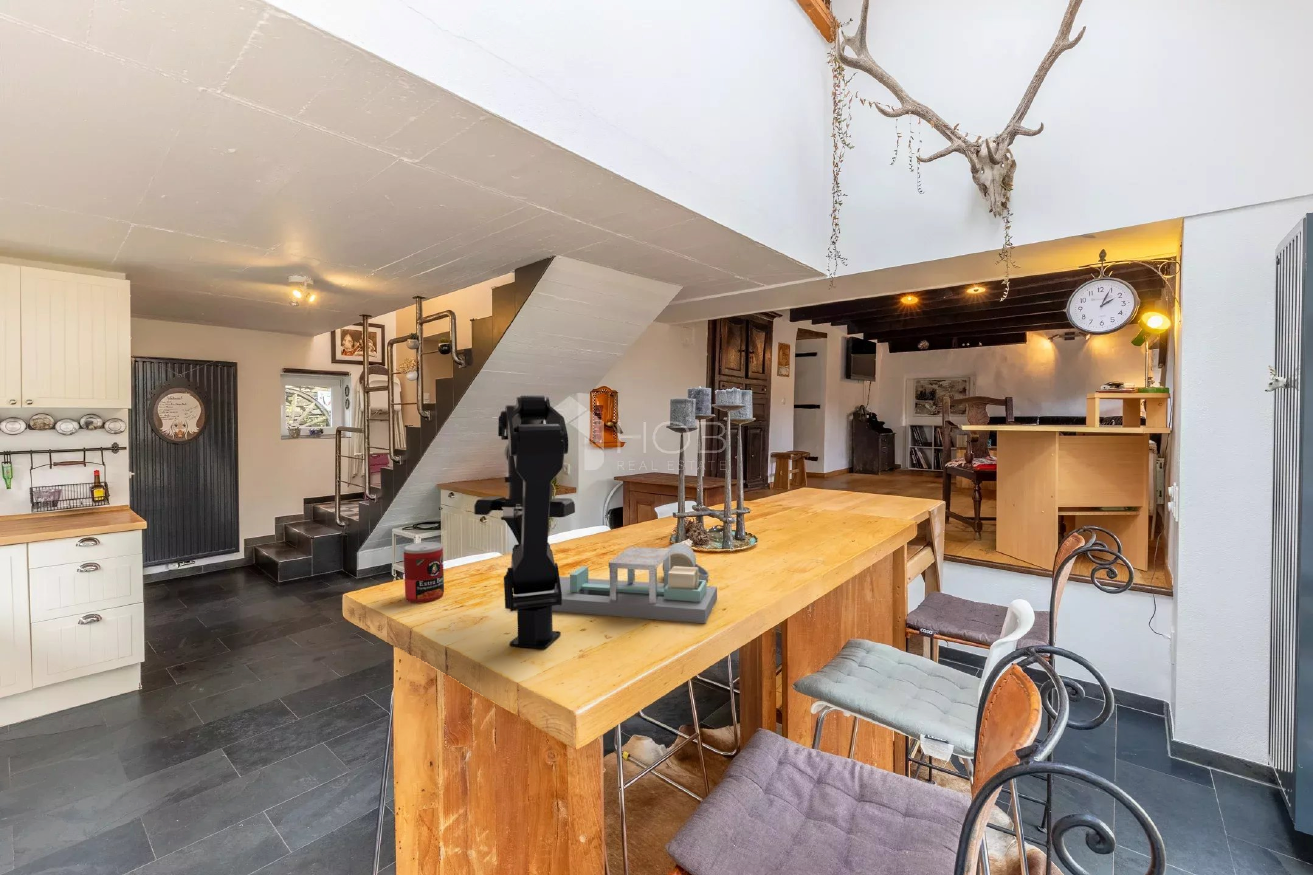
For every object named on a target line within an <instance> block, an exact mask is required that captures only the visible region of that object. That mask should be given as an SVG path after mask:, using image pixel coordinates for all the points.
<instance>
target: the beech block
mask: <svg viewBox="0 0 1313 875" xmlns="http://www.w3.org/2000/svg"><path fill="white" fill-rule="evenodd" d="M699 574H700V573H698V567H679V566H674V567H673V568H672V569H671V570H670V571H669V572H668V588H674V589H689V590H698V588H699Z"/></svg>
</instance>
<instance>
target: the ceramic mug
mask: <svg viewBox="0 0 1313 875" xmlns="http://www.w3.org/2000/svg"><path fill="white" fill-rule="evenodd" d="M666 549H671V554H670V560H671V569H672V568H673V567H674V566H679V567H698V573H699V580H706V582H707V581H708V579H709V576H710V572H709V571H708V570H707V569H706V568H704V567H702V566H701V565H699V564H697V561H696V560H697V558H696V555H695V552H694V550H693V548H691V547H690V546H689V545H687V544H684V543H682V542H680V543H679V542H678V543H676V542H675V543H673V544H671V545H669V546H668V547H667V548H666ZM662 572H663V573H664V563H663V562H662Z"/></svg>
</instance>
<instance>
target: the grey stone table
mask: <svg viewBox="0 0 1313 875" xmlns="http://www.w3.org/2000/svg"><path fill="white" fill-rule="evenodd" d="M670 554H671V549H667V548H659V547H643V546H642V547H641V546H640V547H639V546H638V547H637V546H628V548H626V549H625V550H623V551H622V552H621V553H619V554H618V555H617V556H616V557H614V558H613V559H611V560H610V561H609V562H608V569H609V580H610V601H617V600H618V579H619V576H618V575H619V573H618V569H622V570H623V569H625V570H626V569H627V581H628V584H634V583H635V582H636V573H635V572H636V570H640V571H641V570H643V571H648V582H649V604H656V603H657V583H658V568H659V567H660V566H661V564H663V563H664V572H663V583H664V587H666V586H667V584H668V572H669V571H670V570H671V560H670Z"/></svg>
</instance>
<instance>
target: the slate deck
mask: <svg viewBox="0 0 1313 875" xmlns="http://www.w3.org/2000/svg"><path fill="white" fill-rule="evenodd" d="M559 578H560V585H561V592H562V605H559V606H558V605H555V606H552V612H560V613H573V614H584V615H595V616H597V615H598V616H609V617H610V616H611V617H621V618H634V619H635V618H636V619H646V620H647V619H648V620H659V621H669V622H671V621H673V622H682V623H694V624H696V623H698V624H706V623H707V621H708V619H709V616H710V615H711V612H712V611H711V610H713V609H714V606H715V604H716V602H717V600H718V587H717V586H713V585H712V586H711V585H710V586H709V585H707V591H706V592H705V594H704V596H703V598H702V599H701V601H700V602H696V601H682V600H668V599H664V595H658V594H657V603H656V604H649V594H644V593H629V592H618V600H617V601H610V591H600V590H586V589H581V590H579V591H578V592H570V576H569V577H568V576H559ZM588 584H601V585H610V579H602V578H601V579H599V578H588ZM618 586H632V587H647V588H649V581H648V582H647V581H635V583H634V584H628V580H618ZM657 588H662V589H664V588H665V587H664V582H663V583H662V582H657ZM546 593H554V590H552V591H544V592H535V593H526V594H518V595H516V594H513V597H520V596H528V595H537V594H546ZM712 608H713V609H712ZM709 614H710V615H709Z"/></svg>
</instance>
